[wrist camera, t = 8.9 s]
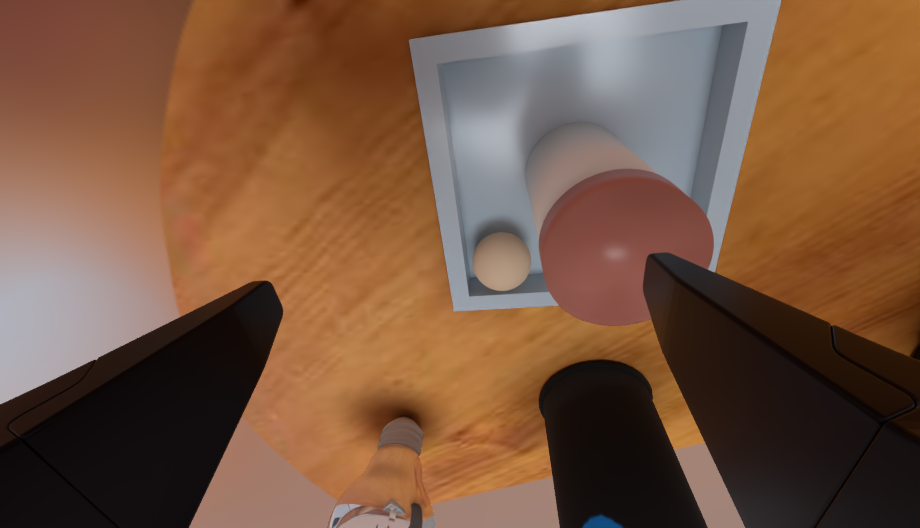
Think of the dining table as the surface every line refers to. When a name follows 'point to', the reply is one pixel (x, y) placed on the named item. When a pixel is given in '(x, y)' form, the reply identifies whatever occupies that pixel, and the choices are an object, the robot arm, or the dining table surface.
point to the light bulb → (388, 485)
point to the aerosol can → (612, 452)
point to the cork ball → (501, 261)
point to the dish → (585, 114)
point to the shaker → (606, 222)
